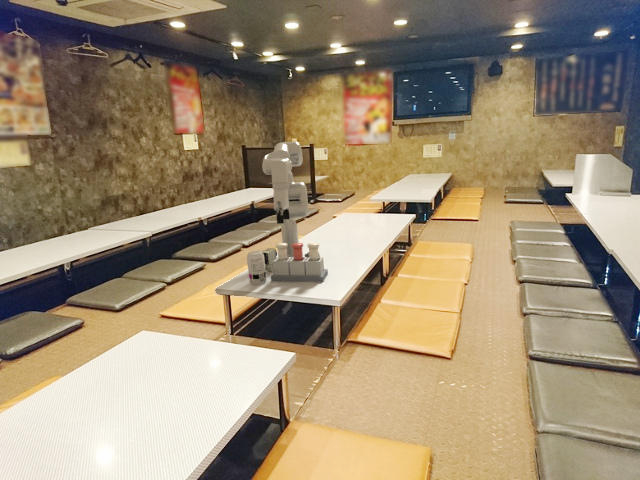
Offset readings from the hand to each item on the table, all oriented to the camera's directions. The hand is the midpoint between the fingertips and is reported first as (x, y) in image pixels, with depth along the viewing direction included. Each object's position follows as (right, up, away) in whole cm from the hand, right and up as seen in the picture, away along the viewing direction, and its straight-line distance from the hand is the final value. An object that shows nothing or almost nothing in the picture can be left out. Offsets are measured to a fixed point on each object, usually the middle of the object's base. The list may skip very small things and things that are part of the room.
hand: (283, 221), depth 204 cm
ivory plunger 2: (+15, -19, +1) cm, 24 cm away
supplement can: (-13, -30, +2) cm, 33 cm away
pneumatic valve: (-10, -25, +20) cm, 34 cm away
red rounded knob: (+7, -19, +3) cm, 21 cm away
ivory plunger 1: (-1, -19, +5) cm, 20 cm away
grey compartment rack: (+8, -28, +5) cm, 29 cm away
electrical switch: (+14, -23, +21) cm, 35 cm away
